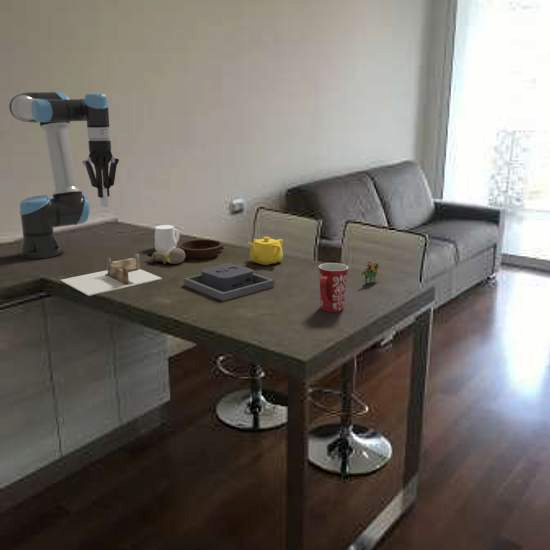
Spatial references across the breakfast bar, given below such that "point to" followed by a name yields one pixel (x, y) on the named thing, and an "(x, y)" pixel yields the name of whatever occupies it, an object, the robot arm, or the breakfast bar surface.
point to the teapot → (266, 250)
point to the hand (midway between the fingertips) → (104, 206)
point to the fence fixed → (126, 263)
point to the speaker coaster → (261, 285)
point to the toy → (169, 255)
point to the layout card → (107, 281)
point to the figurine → (370, 272)
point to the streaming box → (227, 277)
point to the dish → (201, 248)
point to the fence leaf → (119, 273)
